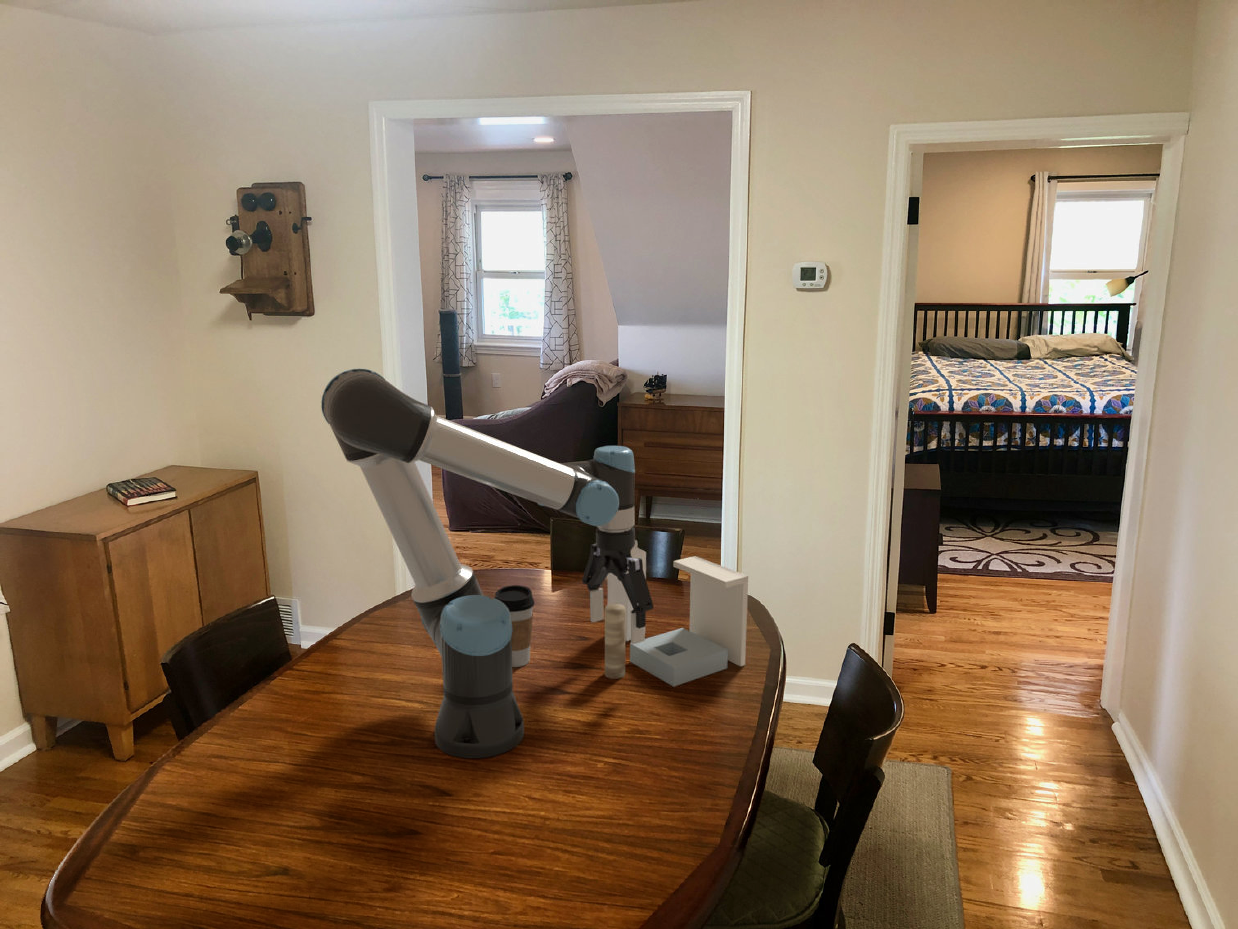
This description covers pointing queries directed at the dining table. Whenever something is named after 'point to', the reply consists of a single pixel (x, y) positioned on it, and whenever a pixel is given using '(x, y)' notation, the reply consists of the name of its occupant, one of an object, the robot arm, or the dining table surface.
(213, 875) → the dining table surface
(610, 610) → the birch peg
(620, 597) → the milk
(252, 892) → the dining table surface
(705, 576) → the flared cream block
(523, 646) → the coffee cup
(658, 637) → the socket block
